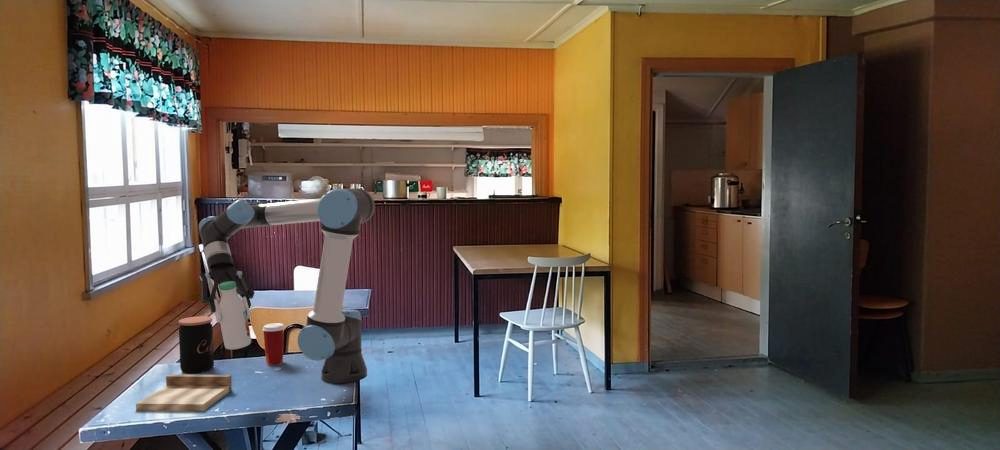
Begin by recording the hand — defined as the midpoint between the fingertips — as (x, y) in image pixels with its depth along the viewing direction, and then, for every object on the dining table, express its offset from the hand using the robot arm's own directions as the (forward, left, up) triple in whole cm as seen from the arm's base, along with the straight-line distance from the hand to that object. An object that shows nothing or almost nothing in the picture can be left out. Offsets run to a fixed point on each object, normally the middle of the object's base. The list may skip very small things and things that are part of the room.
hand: (233, 318), depth 194 cm
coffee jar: (+27, -29, -25) cm, 47 cm away
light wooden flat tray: (+15, +1, -25) cm, 29 cm away
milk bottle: (0, -3, -9) cm, 9 cm away
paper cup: (+3, -38, -25) cm, 46 cm away
